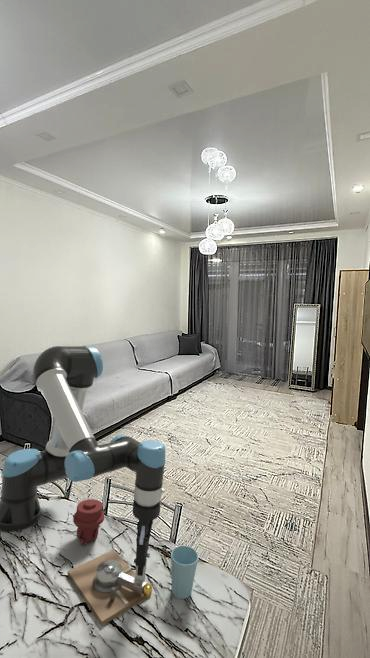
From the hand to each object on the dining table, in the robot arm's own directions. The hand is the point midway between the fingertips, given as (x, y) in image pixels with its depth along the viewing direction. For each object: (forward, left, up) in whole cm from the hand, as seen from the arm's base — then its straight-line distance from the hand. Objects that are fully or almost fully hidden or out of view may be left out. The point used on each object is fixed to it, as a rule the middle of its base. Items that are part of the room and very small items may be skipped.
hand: (139, 582), depth 91 cm
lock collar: (-3, -3, -1) cm, 4 cm away
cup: (+7, +10, -3) cm, 12 cm away
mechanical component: (-28, -1, -3) cm, 28 cm away
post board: (-7, -5, -3) cm, 9 cm away
